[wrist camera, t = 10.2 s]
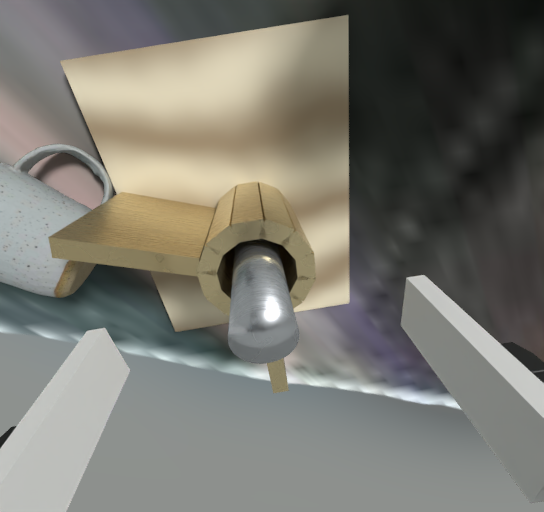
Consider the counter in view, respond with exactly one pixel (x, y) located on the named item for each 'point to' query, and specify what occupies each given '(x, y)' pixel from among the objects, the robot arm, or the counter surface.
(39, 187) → the ceramic mug
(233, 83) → the birch board
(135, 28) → the counter surface
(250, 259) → the hinge pin
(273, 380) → the brass hinge
